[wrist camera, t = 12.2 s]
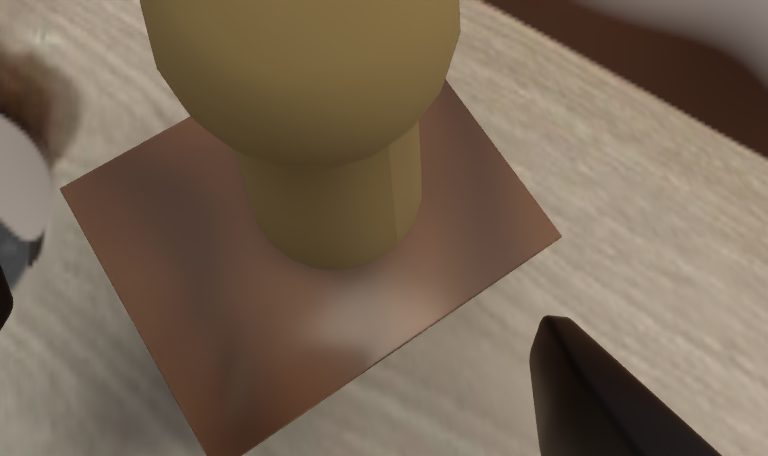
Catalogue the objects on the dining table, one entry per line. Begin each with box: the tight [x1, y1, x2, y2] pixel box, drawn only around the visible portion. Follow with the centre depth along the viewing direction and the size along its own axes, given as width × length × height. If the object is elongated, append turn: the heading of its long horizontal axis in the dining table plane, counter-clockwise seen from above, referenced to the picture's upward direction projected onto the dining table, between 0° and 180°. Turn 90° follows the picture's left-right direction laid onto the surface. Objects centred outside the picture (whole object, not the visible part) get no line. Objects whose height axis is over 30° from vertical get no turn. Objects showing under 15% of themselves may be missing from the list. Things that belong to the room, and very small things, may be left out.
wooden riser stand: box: [60, 79, 562, 456], centre depth 20 cm, size 14×11×4 cm
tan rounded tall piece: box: [140, 0, 460, 269], centre depth 12 cm, size 6×6×11 cm
